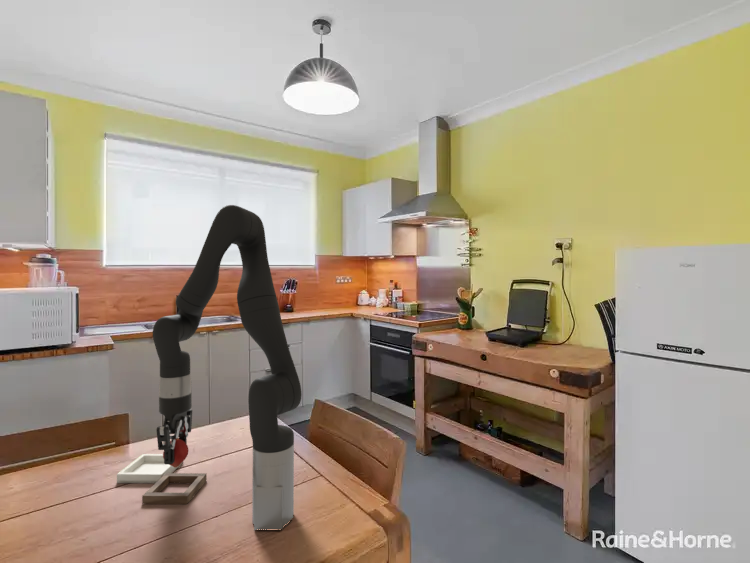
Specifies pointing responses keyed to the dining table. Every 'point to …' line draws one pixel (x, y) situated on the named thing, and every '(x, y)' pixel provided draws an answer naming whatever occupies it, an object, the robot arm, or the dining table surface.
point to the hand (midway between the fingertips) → (175, 457)
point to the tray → (145, 469)
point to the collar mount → (174, 498)
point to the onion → (179, 452)
